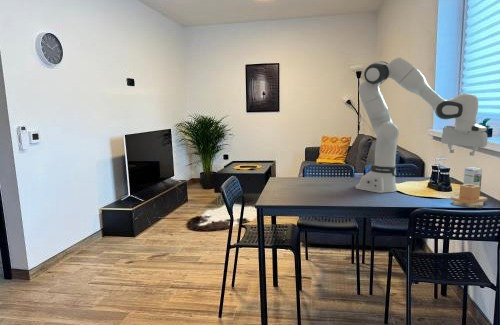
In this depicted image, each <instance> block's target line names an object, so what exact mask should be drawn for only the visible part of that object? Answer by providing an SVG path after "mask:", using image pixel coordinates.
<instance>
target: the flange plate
mask: <svg viewBox="0 0 500 325" xmlns="http://www.w3.org/2000/svg"><path fill="white" fill-rule="evenodd" d="M463 184H464V183H463ZM463 184H460V185H459V193H458V194H459V196H456V195H455V196H451V197H450V201H454V200H455V201H458V202H462V203H466V204H472V203H477V202H482V201H484V202H486V201H488V200H489V199H488V197H485V196H482V197H479V196H481V190H480V186H477V185H472V184H464V185H463Z"/></svg>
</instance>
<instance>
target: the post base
mask: <svg viewBox="0 0 500 325" xmlns="http://www.w3.org/2000/svg"><path fill="white" fill-rule="evenodd" d="M459 194H460V193H456V195H455V196H459ZM479 197H483V195H480V196H479ZM484 202H485V201H482V202H477V203H472V204H466V203H462V202H458V201H455V200H452V205H455V206H462V207H470V208H475V207H476V208H475V209H482V208H484Z"/></svg>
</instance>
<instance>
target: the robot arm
mask: <svg viewBox="0 0 500 325" xmlns="http://www.w3.org/2000/svg"><path fill="white" fill-rule="evenodd" d="M363 77H364V80H365V81H362V83H360V84H359V87H358V94H359V96H360V101H361V103H362V105H363V108H364V109H365V113H366V115H367V116H368V119H369V122H370V124H371V126H372V130H373V131H374V134H375V136H376V140H375V149H374V150H375V151H374V163H373V164H372V165H371V166H370V171H369V172H367V173H365V174H364V175H362V176H361V178H360V180H359V183H358V184H356V185H355V189H356V190H357V189H358V190H362V191H369V192H373V193H378V194H380V193H382V194H383V193H393V192H397V191H398V189H397V185H396V184H397V183H396V175H397V166H396V159H397V158H396V157H397V156H396V155H397V148H398V141H399V127H398V126H397V125H396V124H395V123H394V122H393V119H392V116H391V113H390V110H389V108H388V105H387V102H386V101H385V97H384V96H383V93H382V92H381V89H380V85H382V84H383V83H384V82H385V81H386V80H388V79H392V80H394V81H395V82H396V84H398V85H399V86H401V87H402V88H404V89H405V90H406V91H408V92H410V93H412V94H415V95H417V96H419V97H421V99H423V100H424V101H425V102H426V103H427V104H429V105H430V106H431V107H432V109H433V110H434V113H435V115H436V116H437V118H439V119H441V120H451V119H455V121H454V125H445V126H444V127H442V135H441V138H440V139H441V140H440V142H441V143H442V144H445V145H447V147H448V149H449V154H454V153H455V149H453V145H455V146H464V147H465V146H466V147H472V151H469V156H470V157H471V156H472V157H473V156H475V152H477V150H479V148H485V147H487V145H488V134H487V130H488V129H487V127H486V126H484V125H481V124H478V123H477V114H478V112H479V98H478V96H477V95H475V94H472V93H465V92H462V93H459V95H456V96H455V97H454V96H453V97H452V98H448V99H446V98H443V97H441V95H440V94H438V93H437V92H436V91H435V90H433V89H432V88H431V86H430V85H429V84H428V82H427V79H426V77H425V76H424V74H422V72H421V71H420V70H419V69H418V68H417V67H416V66H415V65H414V64H412V63H410V62H409V61H408V60H406V59H405V58H402V57H396V58H394V59H392V60H391V61H390V62H389V63H388V62H386V61H381V60H380V61H376V62H373V63H371V64H369V65H368V66H367V67H366V68H365V70H364V73H363Z"/></svg>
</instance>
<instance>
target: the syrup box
mask: <svg viewBox="0 0 500 325" xmlns="http://www.w3.org/2000/svg"><path fill="white" fill-rule="evenodd" d="M463 173H464V174H463V184H462V185H464V184H472V185H477V186H480V191H481V188H482V175H483V168H480V167H464V172H463Z"/></svg>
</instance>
